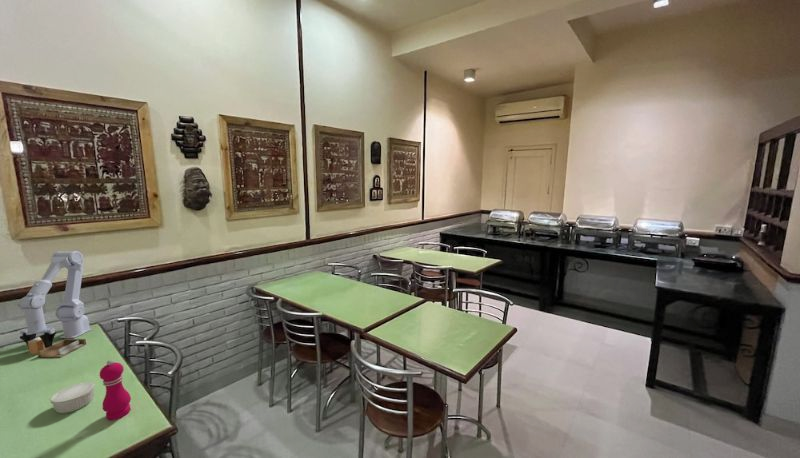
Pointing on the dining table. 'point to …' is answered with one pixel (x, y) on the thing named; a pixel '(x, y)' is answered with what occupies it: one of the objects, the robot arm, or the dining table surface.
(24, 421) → the dining table surface
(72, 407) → the ramekin
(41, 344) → the tan block
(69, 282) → the robot arm
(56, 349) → the shelf
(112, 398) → the pepper mill
